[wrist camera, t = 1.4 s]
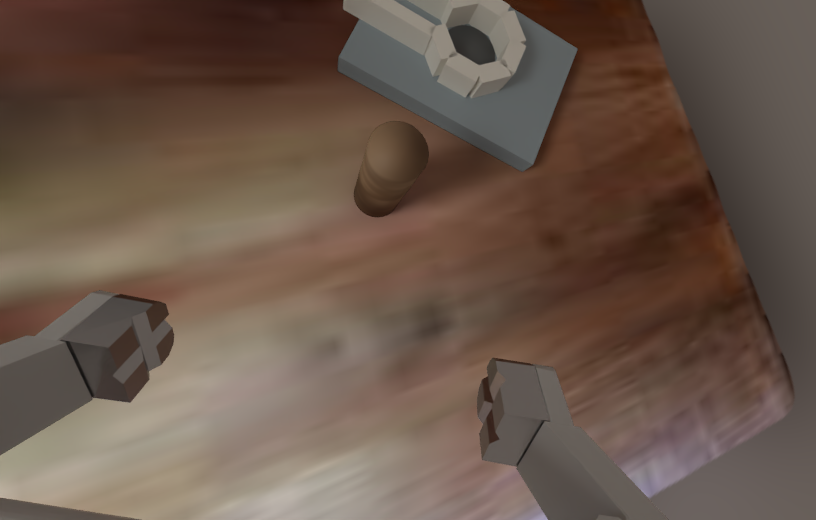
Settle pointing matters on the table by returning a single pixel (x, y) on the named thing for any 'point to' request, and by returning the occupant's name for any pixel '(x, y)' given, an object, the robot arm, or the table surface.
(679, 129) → the table surface
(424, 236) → the table surface
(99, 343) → the robot arm
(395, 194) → the walnut dowel
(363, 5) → the keyhole board
